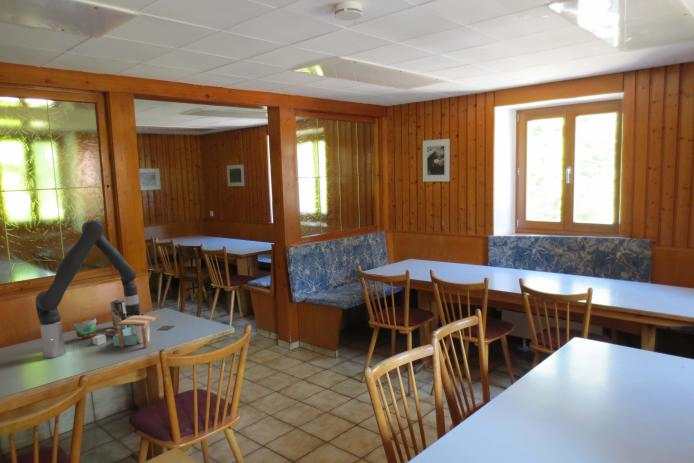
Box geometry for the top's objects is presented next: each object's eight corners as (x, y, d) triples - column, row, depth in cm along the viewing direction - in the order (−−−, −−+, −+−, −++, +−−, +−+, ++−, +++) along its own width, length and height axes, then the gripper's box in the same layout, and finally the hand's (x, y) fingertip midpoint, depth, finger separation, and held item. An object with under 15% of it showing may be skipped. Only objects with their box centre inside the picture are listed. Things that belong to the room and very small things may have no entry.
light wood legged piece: (147, 347, 256) (144, 323, 255) (119, 347, 259) (116, 323, 258) (162, 338, 270) (159, 315, 269) (136, 338, 273) (133, 315, 272)
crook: (136, 344, 263) (134, 335, 262) (113, 346, 263) (112, 337, 262) (153, 331, 285) (152, 322, 284) (132, 332, 285) (131, 323, 284)
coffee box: (133, 325, 298) (129, 299, 296) (125, 328, 292) (122, 302, 290) (120, 325, 301) (117, 299, 299) (112, 328, 295) (109, 302, 293)
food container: (80, 342, 273) (78, 324, 272) (75, 340, 277) (73, 323, 276) (102, 335, 283) (100, 318, 281) (97, 333, 286) (95, 317, 285)
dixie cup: (148, 343, 263) (145, 325, 261) (132, 344, 263) (130, 326, 262) (154, 338, 271) (152, 320, 270) (139, 339, 271) (137, 321, 270)
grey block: (98, 345, 266) (97, 338, 266) (93, 344, 268) (92, 337, 268) (106, 342, 271) (105, 334, 270) (101, 341, 273) (100, 334, 272)
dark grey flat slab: (168, 330, 284) (168, 329, 284) (157, 330, 286) (157, 329, 286) (174, 326, 291) (174, 325, 291) (163, 326, 292) (163, 325, 292)
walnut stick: (125, 335, 281) (124, 330, 281) (121, 336, 279) (121, 331, 278) (108, 334, 285) (108, 329, 285) (105, 335, 283) (104, 330, 283)
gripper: (116, 304, 278) (120, 333, 280) (139, 304, 275) (142, 333, 278) (124, 301, 286) (128, 328, 288) (147, 300, 283) (150, 328, 285)
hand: (135, 330), depth 283 cm, fingers open, 7 cm apart
